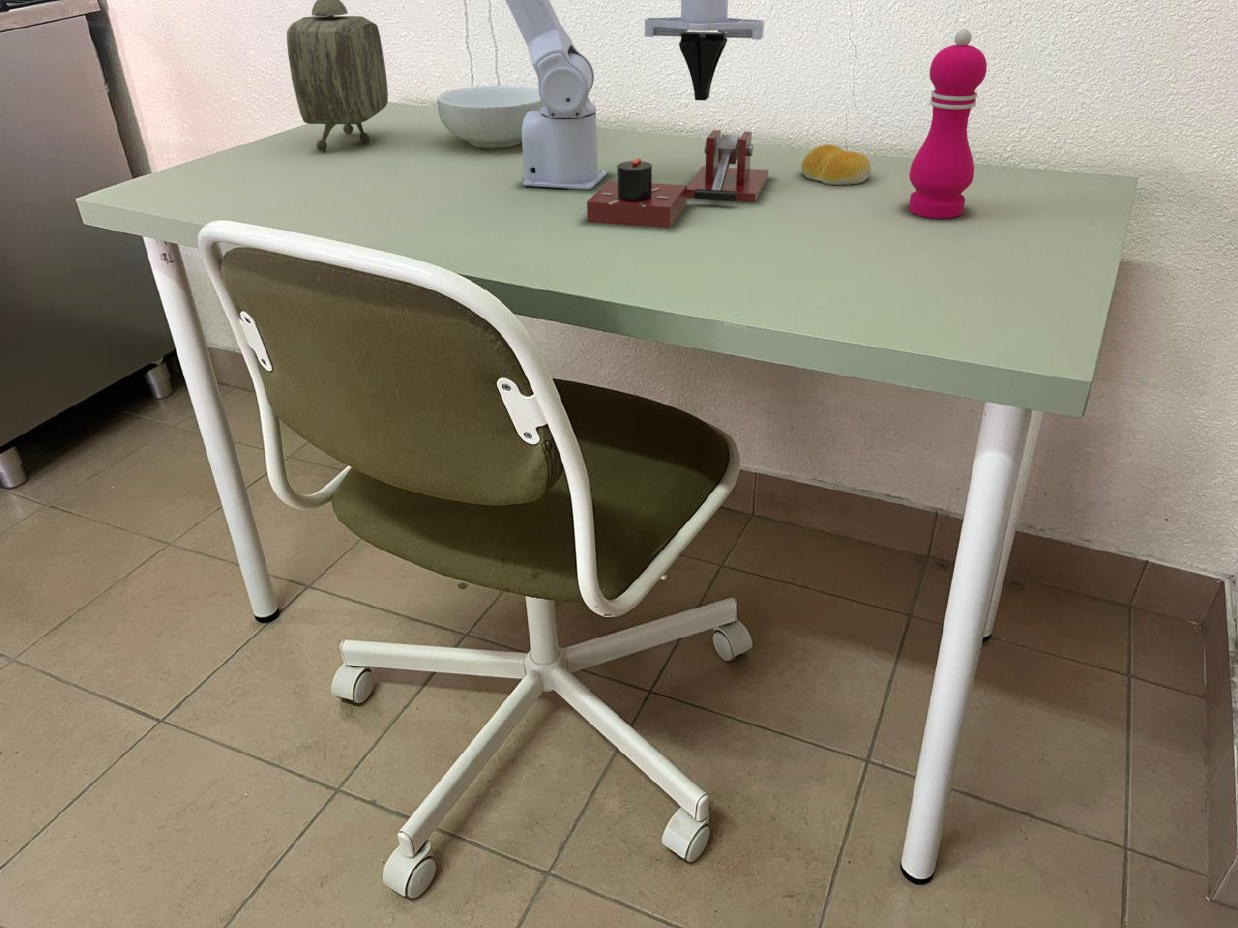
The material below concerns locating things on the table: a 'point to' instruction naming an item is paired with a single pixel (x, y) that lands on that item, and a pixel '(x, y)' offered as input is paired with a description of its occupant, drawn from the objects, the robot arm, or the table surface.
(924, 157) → the pepper mill
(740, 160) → the red lever base
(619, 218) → the panel
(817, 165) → the bread roll
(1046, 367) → the table surface
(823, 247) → the table surface
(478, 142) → the cereal bowl
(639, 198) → the knob
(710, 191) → the toaster lever
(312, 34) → the tabletop clock
